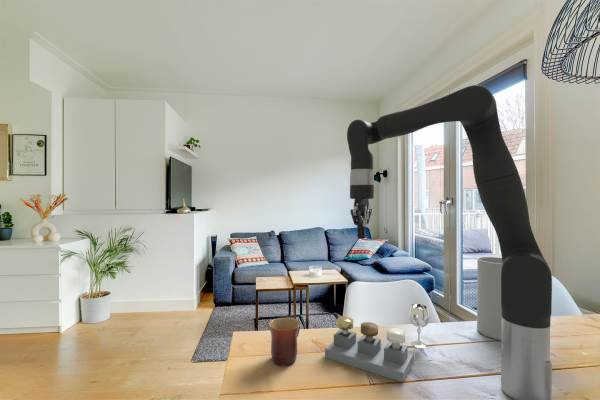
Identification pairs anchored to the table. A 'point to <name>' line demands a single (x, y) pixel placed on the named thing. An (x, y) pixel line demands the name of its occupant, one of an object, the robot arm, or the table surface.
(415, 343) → the wineglass
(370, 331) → the walnut key
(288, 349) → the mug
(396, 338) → the cream key
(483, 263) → the cylinder vase
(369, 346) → the grey key socket base
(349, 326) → the gold faceted knob
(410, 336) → the table surface
